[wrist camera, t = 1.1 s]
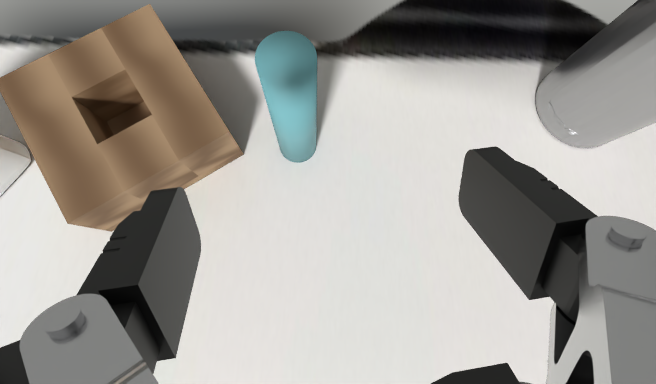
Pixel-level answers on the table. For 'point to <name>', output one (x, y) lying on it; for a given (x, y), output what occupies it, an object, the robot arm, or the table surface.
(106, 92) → the socket block
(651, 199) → the table surface
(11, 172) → the photo printer
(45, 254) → the table surface
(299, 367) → the table surface
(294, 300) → the table surface
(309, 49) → the pin
